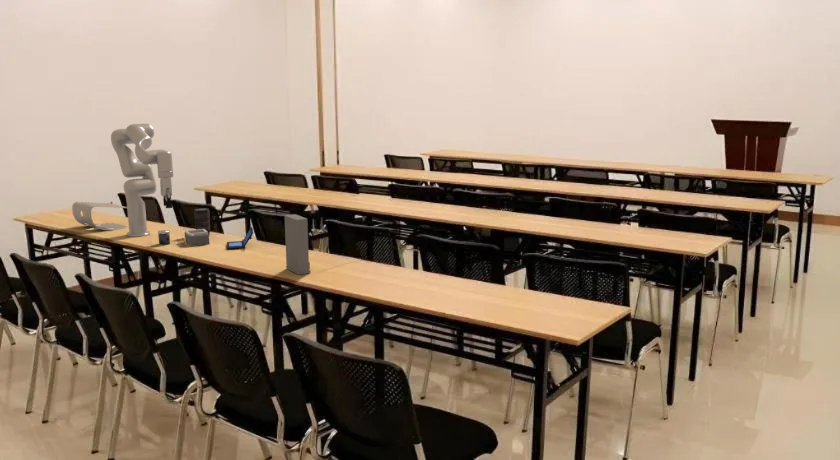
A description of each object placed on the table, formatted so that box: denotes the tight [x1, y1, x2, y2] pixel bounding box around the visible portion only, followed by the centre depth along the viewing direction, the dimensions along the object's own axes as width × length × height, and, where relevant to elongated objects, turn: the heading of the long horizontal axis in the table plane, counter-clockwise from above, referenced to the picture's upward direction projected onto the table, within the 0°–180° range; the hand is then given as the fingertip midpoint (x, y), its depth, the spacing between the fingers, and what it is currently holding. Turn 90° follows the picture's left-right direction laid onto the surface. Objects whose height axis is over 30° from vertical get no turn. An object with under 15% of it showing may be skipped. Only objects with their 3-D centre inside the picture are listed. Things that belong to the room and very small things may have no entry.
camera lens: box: [194, 208, 211, 236], centre depth 403 cm, size 8×8×15 cm
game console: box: [226, 226, 254, 251], centre depth 376 cm, size 16×14×9 cm
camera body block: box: [184, 229, 210, 247], centre depth 386 cm, size 14×10×6 cm
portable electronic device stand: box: [71, 201, 129, 231], centre depth 427 cm, size 26×24×16 cm
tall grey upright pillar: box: [284, 214, 312, 276], centre depth 323 cm, size 14×6×25 cm, turn 33°
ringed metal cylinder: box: [157, 229, 171, 246], centre depth 382 cm, size 6×6×7 cm
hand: (168, 206), depth 380 cm, fingers open, 9 cm apart
